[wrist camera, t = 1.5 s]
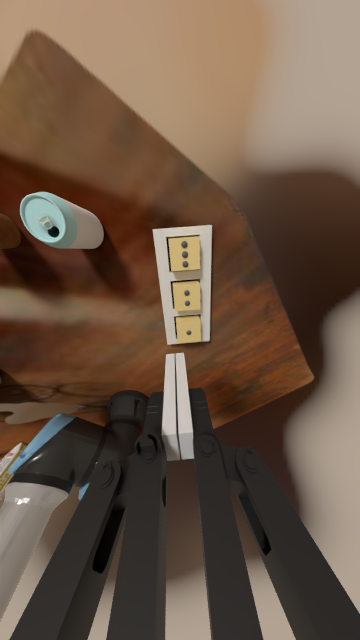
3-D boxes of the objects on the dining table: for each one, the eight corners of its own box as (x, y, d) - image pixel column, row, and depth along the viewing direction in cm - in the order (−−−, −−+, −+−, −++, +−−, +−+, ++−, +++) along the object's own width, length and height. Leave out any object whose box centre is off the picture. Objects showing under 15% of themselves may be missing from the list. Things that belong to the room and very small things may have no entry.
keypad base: (207, 336, 44) (209, 340, 42) (167, 339, 44) (167, 344, 42) (209, 226, 32) (211, 224, 30) (154, 231, 32) (152, 229, 29)
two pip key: (198, 304, 38) (201, 309, 34) (174, 306, 37) (175, 311, 34) (198, 280, 35) (201, 283, 32) (172, 282, 35) (172, 286, 32)
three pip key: (198, 267, 34) (201, 269, 30) (171, 269, 34) (171, 271, 30) (197, 237, 31) (200, 236, 28) (168, 239, 31) (168, 238, 28)
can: (108, 222, 31) (74, 206, 20) (100, 254, 33) (65, 256, 22) (73, 202, 29) (14, 174, 18) (67, 238, 32) (12, 232, 21)
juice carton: (10, 448, 64) (-50, 521, 46) (20, 440, 62) (-38, 513, 44) (27, 454, 66) (-23, 525, 49) (38, 447, 64) (-11, 518, 47)
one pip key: (199, 334, 41) (201, 341, 38) (177, 336, 41) (177, 343, 38) (199, 315, 39) (201, 321, 35) (175, 317, 39) (176, 323, 35)
